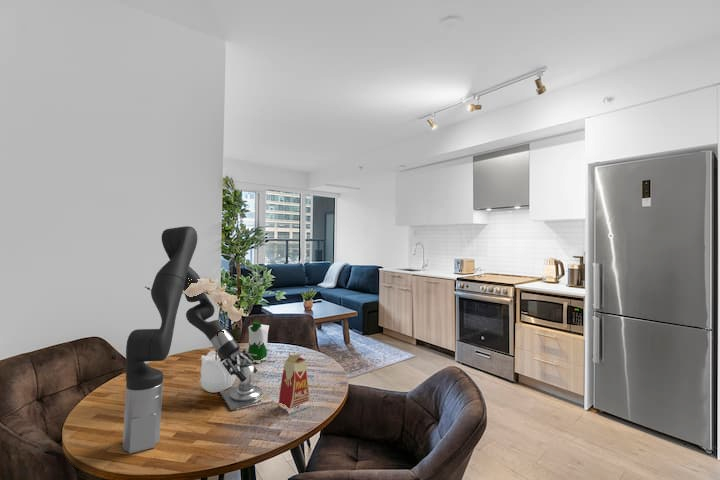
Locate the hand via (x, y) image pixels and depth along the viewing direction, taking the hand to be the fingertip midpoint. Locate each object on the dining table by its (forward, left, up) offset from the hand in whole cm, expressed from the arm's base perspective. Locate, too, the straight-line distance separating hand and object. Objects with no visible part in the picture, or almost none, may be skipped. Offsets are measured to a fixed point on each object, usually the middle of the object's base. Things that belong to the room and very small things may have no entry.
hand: (250, 376), depth 132 cm
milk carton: (-15, -12, -8) cm, 21 cm away
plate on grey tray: (+1, +1, -8) cm, 8 cm away
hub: (+1, +1, -6) cm, 6 cm away
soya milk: (+40, -16, -8) cm, 44 cm away
